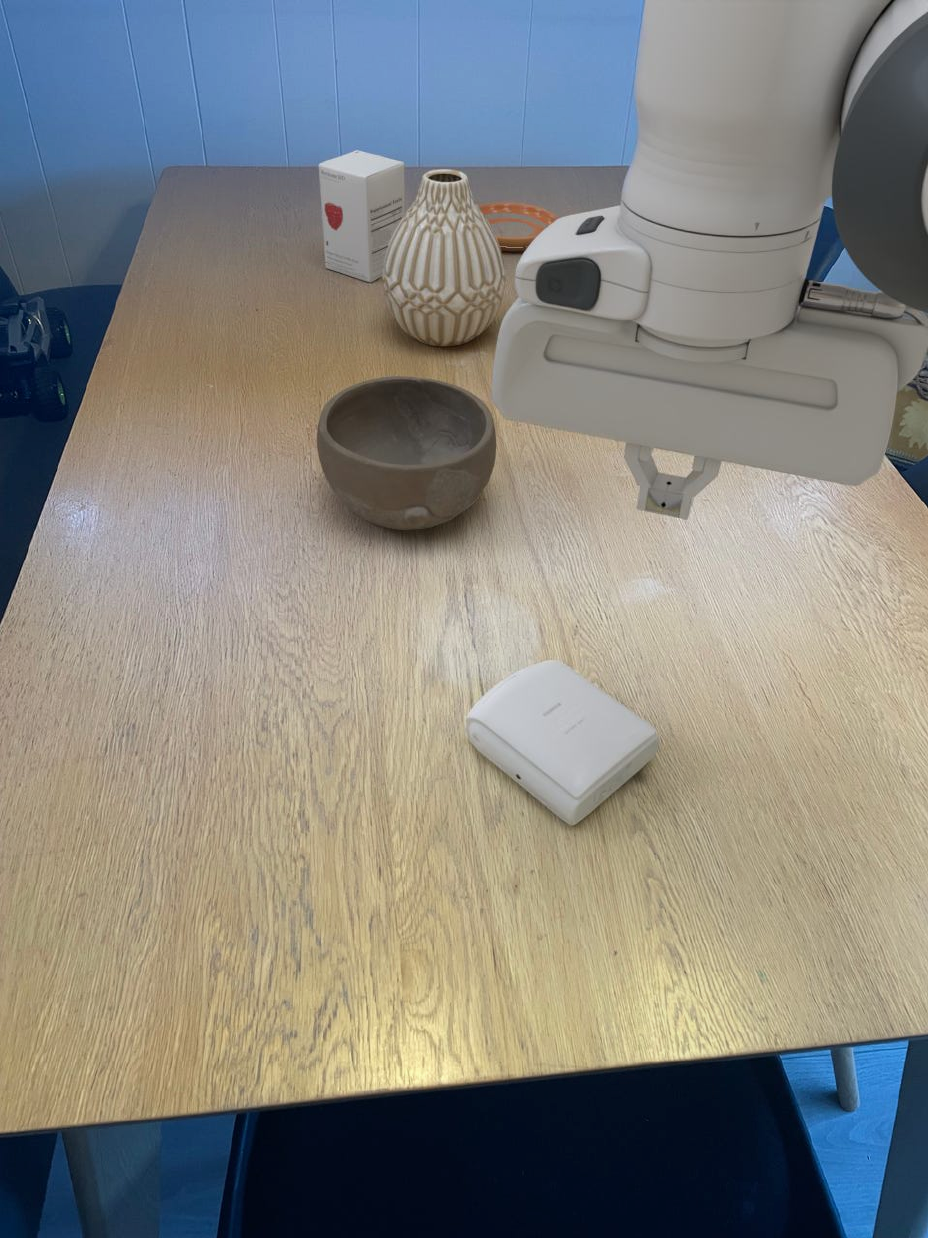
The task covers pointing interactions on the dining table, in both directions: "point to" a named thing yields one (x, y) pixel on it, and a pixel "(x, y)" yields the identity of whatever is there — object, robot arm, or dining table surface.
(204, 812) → the dining table surface
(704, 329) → the robot arm
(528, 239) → the saucer
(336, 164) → the white product box
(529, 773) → the photo printer
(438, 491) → the bowl
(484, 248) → the vase
